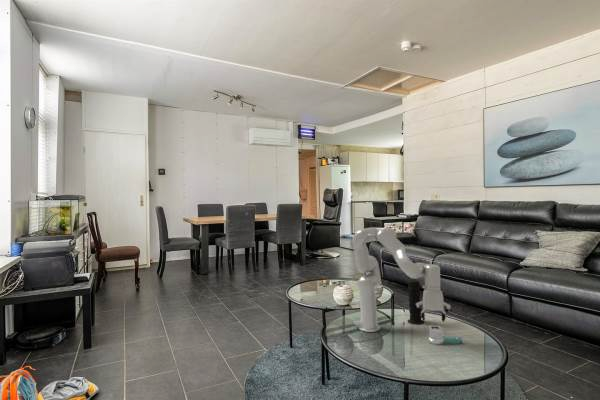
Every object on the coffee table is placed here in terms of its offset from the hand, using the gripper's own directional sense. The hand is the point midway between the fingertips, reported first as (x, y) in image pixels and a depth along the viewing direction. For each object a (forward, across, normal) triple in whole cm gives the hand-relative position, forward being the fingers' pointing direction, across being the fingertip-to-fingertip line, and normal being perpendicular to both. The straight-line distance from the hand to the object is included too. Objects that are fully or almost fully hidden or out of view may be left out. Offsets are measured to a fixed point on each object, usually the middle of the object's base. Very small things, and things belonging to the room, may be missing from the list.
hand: (433, 320), depth 174 cm
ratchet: (+11, +5, 0) cm, 12 cm away
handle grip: (+12, -6, +29) cm, 32 cm away
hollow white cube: (+9, +1, 0) cm, 9 cm away
